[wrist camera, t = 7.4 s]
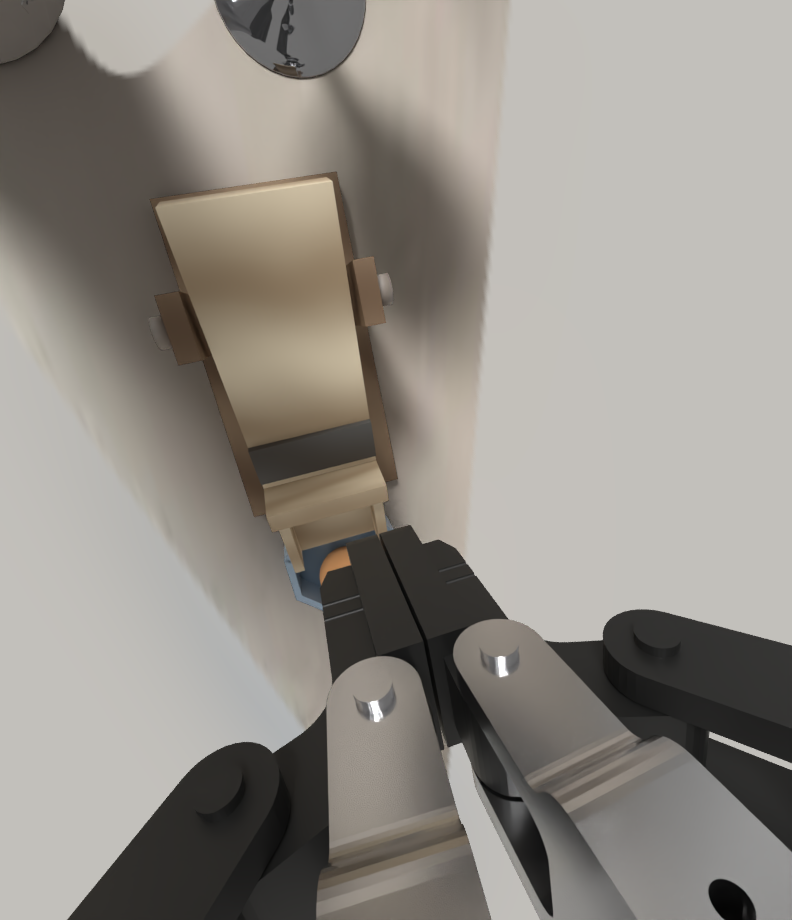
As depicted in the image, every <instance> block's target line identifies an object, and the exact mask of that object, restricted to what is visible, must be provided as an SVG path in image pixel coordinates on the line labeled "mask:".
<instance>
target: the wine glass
mask: <svg viewBox="0 0 792 920" xmlns="http://www.w3.org/2000/svg"><path fill="white" fill-rule="evenodd" d="M214 1H215V4H216V7H217V10H218V12H219V14H220V16H221V18H222V20H223V22H224V24H225V26H226V28H227V29H228V30H229V32H230V33H231V35H232V36H233V38H234V39H235V41H236V42H237V43H238V44H239V45H240V46H241V47H242V49H243V50H244V51H245V52H246V53H247V54H248V55H249V56H251V57H252V58H253V59H254V60H256V61H257V62H258V63H259V64H261V65H263V66H264V67H266V68H268V69H269V70H271V71H273V72H276V73H279V74H281V75H284V76H289V77H295V78H311V77H315V76H319V75H323V74H325V73H327V72H329V71H331V70H333V69H334V68H335V67H337V66H338V65H339V64H340V63H341V62H343V61H344V60H345V58H346V57H347V56H348V55H349V53H350V52H351V51H352V49H353V47H354V45H355V43H356V42H357V40H358V38H359V35H360V32H361V28H362V25H363V21H364V14H365V4H366V0H214Z"/></svg>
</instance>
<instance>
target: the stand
mask: <svg viewBox="0 0 792 920" xmlns="http://www.w3.org/2000/svg"><path fill="white" fill-rule="evenodd" d="M324 177H327V178H329V179H330V180H331V181H333V188H334V194H335V200H336V207H337V213H338V220H339V226H340V233H341V239H342V245H343V252H344V258H345V265H346V271H347V277H348V284H349V290H350V297H351V303H352V310H353V316H354V322H355V329H356V335H357V342H358V348H359V354H360V361H361V367H362V374H363V380H364V387H365V393H366V399H367V406H368V412H369V419H370V421H371V425H372V432H373V438H374V444H375V451H376V456H375V457H376V461H377V464H378V466H379V469H380V471H381V473H382V476H383V478H384V481H385V482H388V481H392V480H395V479H398V478H397V473H396V468H395V463H394V458H393V453H392V448H391V443H390V438H389V433H388V428H387V423H386V418H385V413H384V408H383V403H382V398H381V393H380V388H379V383H378V378H377V373H376V368H375V363H374V358H373V352H372V347H371V342H370V337H369V332H368V327H367V326H372V325H377V324H382V323H386V321H385V315H384V310H383V306H387V305H392V304H393V301H394V295H393V287H392V283H391V279H390V277H389V275H388V273H384V274H379V275H377V272H376V267H375V261H374V256H372V257H366V258H361V259H355V260H354V257H353V252H352V247H351V242H350V237H349V232H348V227H347V222H346V217H345V211H344V206H343V201H342V196H341V191H340V186H339V181H338V176H337V172H331V173H324V174H317V175H311V176H304V177H297V178H290V179H283V180H276V181H270V182H263V183H256V184H249V185H242V186H235V187H229V188H222V189H215V190H208V191H201V192H195V193H188V194H181V195H174V196H167V197H160V198H154V199H150V202H151V205H152V208H153V211H154V214H155V217H156V220H157V223H158V226H159V229H160V232H161V235H162V238H163V241H164V244H165V247H166V250H167V253H168V256H169V259H170V262H171V266H172V269H173V272H174V275H175V278H176V281H177V284H178V287H179V290H180V292H179V291H177V292H172V293H166V294H161V295H155V296H154V297H155V300H156V302H157V305H158V308H159V311H160V314H161V315H160V316H154V317H150V318H149V326H150V330H151V333H152V336H153V338H154V341H155V343H156V344H157V346H158V348H159V349H160V350H166V349H171V348H173V351H174V354H175V357H176V360H177V363H178V365H183V364H188V363H193V362H197V361H202V360H203V363H204V366H205V369H206V372H207V375H208V378H209V381H210V384H211V387H212V390H213V393H214V396H215V399H216V402H217V405H218V408H219V411H220V414H221V417H222V420H223V423H224V426H225V430H226V433H227V436H228V439H229V442H230V445H231V448H232V451H233V454H234V457H235V460H236V463H237V466H238V469H239V472H240V475H241V478H242V481H243V484H244V487H245V490H246V493H247V496H248V499H249V502H250V505H251V508H252V512H253V515H254V517H256V516H260V515H264V514H266V507H265V496H264V488H263V485H261V483H260V481H259V478H258V476H257V473H256V471H255V468H254V465H253V463H252V460H251V458H250V455H249V453H248V447H247V444H246V441H245V439H244V436H243V434H242V431H241V428H240V426H239V423H238V421H237V418H236V416H235V413H234V410H233V408H232V405H231V403H230V400H229V397H228V395H227V392H226V390H225V387H224V385H223V382H222V379H221V377H220V374H219V372H218V369H217V366H216V364H215V361H214V359H213V356H212V354H211V351H210V348H209V346H208V343H207V341H206V338H205V335H204V333H203V330H202V328H201V325H200V322H199V320H198V317H197V315H196V312H195V310H194V307H193V304H192V302H191V299H190V297H189V294H188V291H187V289H186V286H185V284H184V281H183V279H182V276H181V273H180V271H179V268H178V266H177V263H176V260H175V258H174V255H173V253H172V250H171V248H170V245H169V242H168V240H167V237H166V235H165V232H164V229H163V227H162V224H161V222H160V219H159V216H158V214H157V211H156V209H155V207H156V206H157V205H158V203H159V202H162V201H168V200H175V199H182V198H189V197H195V196H202V195H209V194H216V193H222V192H229V191H236V190H243V189H249V188H256V187H263V186H270V185H277V184H283V183H290V182H297V181H304V180H310V179H317V178H324Z"/></svg>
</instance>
